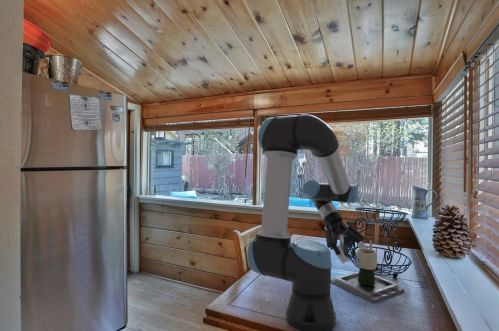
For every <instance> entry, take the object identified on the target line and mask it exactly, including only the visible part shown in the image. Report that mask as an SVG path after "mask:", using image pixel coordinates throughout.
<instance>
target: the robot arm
mask: <svg viewBox="0 0 499 331" xmlns="http://www.w3.org/2000/svg"><path fill="white" fill-rule="evenodd" d="M257 140H258V145H259V146H260V148H261V149H262V150H263V155H264V156H265V157H266V159H267V161H266V172H265V184H264V194H263V195H264V196H263V207H262V216H261V219H262V220H261V228H260V229H259V230H258V231H257V232H256V234H255V237H253V238H252V239H251V240H250V242H249V244H248V246H247V254H246V255H247V262H248V265H249V267H250V268H251V270H252V271H253V272H255V273H256V274H259V275H262V276H264V277H271V278H274V279H279V280H283V281H286V282H290V283H291V294H290V296H289V301H288V304H287V306H286V308H285V318H286V321H287V322H288V323H289V324H290V326H292V327H293V328H295V329H298V330H301V331H331V330H333V328H335V326H336V324H337V313H336V311H335V307H334V304H333V300H332V298H331V289H332V288H331V286H332V285H331V279H332V278H331V277H332V266H333V265H332V257H331V254H332V253H331V250H332V251H334V253H335V255H336V256H338V259H339V260H340V262H341V264H345V263H346V262H348V258H347V256H345V255H344V253H343V251H342V250H341V248H340V244H339V245H338V239H339V236H340V234H341V235H342V234H343V235H346V236H348V237H349V238H351V239H352V240H354V241H355V243H357V244H356V245H357V247H358V249H360V248H367V246H366V244H365V243H364V240H365V239H366V238H365V236H363V235H362V233H360V232H359V231H358V230H357V229H356V228H355V227H354V226H353V225H352V224H351V223H350V222H349V221H347V222H346V223H344V222H343V217H342V216H341V214H340V212H339V211H338V209H337V207H336V205H335V204H334V203H333V202H337V203H346V204H348V203H350V204H351V203H352V204H354V203H356V202H357V201H358V197H359V188H358V186H357V185H356V184H352V183H350V181H349V179H348V177H347V172H346V170H345V167H344V164H343V161H342V159H341V154H340V152H339V146H340V143H339V140H338V137H337V135H336V133H335V131H334V130H333V129H332V127H331V126H329V125H328V124H327V123H326V122H325V121H324V120H323V119H320V118H319V117H317V116H315V115H312V114H307V113H306V114H299V115H298V114H297V115H296V114H295V115H294V114H293V115H281V116H280V115H276V116H272V117H267V118H266V119H265V120H264V121H262V123H261V124H260V126H259V129H258V133H257ZM304 150H306V151H310V152H311V154H312V155H313V156H314V157H316V158H317V160H318V163H319V164H320V167H321V169H322V171H323V174H324V176H325V178H326V181H327V182H318V181H317V180H315V179H313V178H311V179H308V180H305V182H304V183H303V185H302V191H303V193H304V195H305V196H306V197H307V198H308V199H309V200H310V201H311V202H312V203H313V205H314V206H315V208H316V210H317V211H318V213H319V215H320V216H321V218H322V220H323V222H324V223H325V226H324V227H323V230H324V231H323V232H324V234H325V242H326V245H325V244H323V243H321V242H319V241H316V240H312V239H303V238H300V239H295V240H294V241H293V242H291V241H292V240H291V239H292V236H291V234H290V233H289V232H288V219H289V208H290V206H289V205H290V196H291V195H290V193H291V182H292V181H291V180H292V170H293V160H294V159H295V158H297V157H298V151H304ZM367 249H368V248H367Z"/></svg>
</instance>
